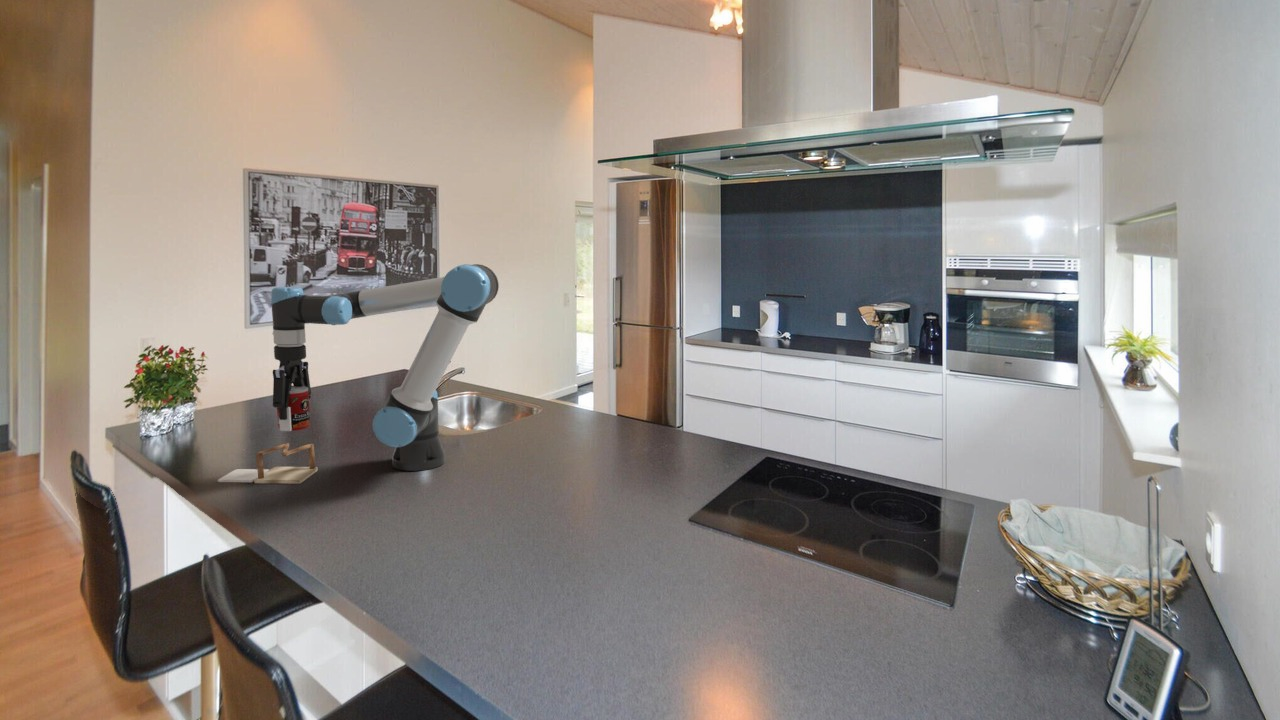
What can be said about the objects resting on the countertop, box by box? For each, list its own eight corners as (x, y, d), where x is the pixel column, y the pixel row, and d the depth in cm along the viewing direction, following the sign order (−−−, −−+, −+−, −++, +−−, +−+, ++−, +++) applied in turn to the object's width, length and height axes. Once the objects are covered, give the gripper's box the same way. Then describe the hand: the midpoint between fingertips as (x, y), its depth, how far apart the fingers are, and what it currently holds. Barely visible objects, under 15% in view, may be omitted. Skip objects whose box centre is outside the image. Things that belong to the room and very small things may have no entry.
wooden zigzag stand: (317, 470, 179) (316, 442, 178) (299, 483, 169) (297, 454, 167) (275, 469, 178) (273, 441, 177) (254, 483, 168) (252, 453, 167)
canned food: (295, 432, 167) (293, 392, 165) (270, 429, 169) (268, 389, 167) (316, 425, 174) (315, 386, 172) (292, 422, 176) (290, 384, 174)
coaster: (269, 471, 177) (268, 469, 177) (252, 482, 169) (251, 480, 169) (236, 471, 177) (236, 469, 177) (217, 481, 168) (217, 479, 168)
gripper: (296, 338, 178) (300, 416, 182) (252, 349, 157) (258, 436, 161) (322, 339, 178) (325, 417, 182) (282, 351, 158) (287, 437, 161)
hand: (294, 426), depth 171 cm, fingers closed on canned food, 8 cm apart
